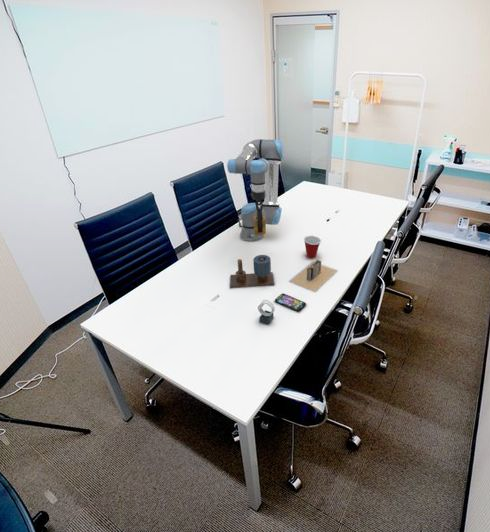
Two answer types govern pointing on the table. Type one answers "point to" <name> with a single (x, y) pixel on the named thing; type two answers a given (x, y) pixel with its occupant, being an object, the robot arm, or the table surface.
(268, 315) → the watch
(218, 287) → the table surface
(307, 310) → the table surface
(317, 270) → the architectural model on board
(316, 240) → the plastic cup
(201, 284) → the table surface
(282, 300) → the smartphone
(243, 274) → the peg stand
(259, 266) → the blue ring
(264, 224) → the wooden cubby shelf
